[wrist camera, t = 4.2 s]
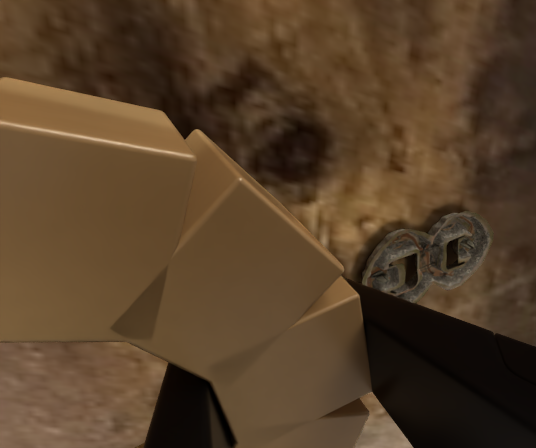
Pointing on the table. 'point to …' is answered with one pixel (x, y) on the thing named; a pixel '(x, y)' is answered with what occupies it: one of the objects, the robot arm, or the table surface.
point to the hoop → (175, 265)
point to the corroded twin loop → (429, 256)
